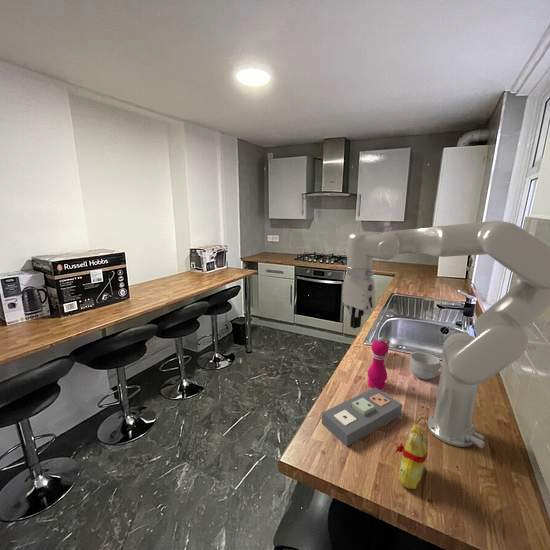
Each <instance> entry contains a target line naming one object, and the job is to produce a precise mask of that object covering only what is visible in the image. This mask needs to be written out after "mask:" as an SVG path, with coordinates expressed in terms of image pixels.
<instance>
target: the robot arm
mask: <svg viewBox="0 0 550 550" xmlns="http://www.w3.org/2000/svg"><path fill="white" fill-rule="evenodd" d="M402 254H403V255H404V254H426V255H429V256H434V257H438V258H439V257H440V258H447V257H449V258H450V257H461V256H480V255H482V256H485V255H488V256H489V257H491V258H492V259H493V260H494V261H496V262H498V263H499V264H500V265H501V266H503V267H504V268H505V269H507V270H509V271H510V272H512V273H513V274H515V279H514V283H513V286H512V287H511V288H510V289H509V291H508V292H506V293H505V295H502V297H501V298H500V299H499V300H497V301H496V302H495V303H494V304H492V305H491V306H490V307H489V308H488V309H486V310H485V311H484V312H482V313H481V314H479V316H478V317H477V318H476V319H475V321H474V326H473V327H474V330H475V332H476V336H475V337H474V336H473V335H470V334H468V333H466V332H456V333H453V334H450V335H449V336H448V337H447V338H446V339H445V341H444V343H443V346H442V352H441V363H442V365H441V367H440V372H441V374H440V375H439V381H438V388H437V396H436V401H435V408H434V414H432V415H431V416H429V418H428V419H427V427H428V429H429V431H430V432H431V434H432V435H433V436H435V437H436V438H437V439H438V440H441V442H444V443H446V444H448V445H450V446H454V447H462V448H463V447H464V448H465V447H466V448H467V447H470V446H472V445H473V444H474V445H476V446H478V447H479V448H480V449H483V448H484V447H485V445H486V441H484V439H485V436H484V435H482V434H480V433H478V432H476V430H475V426H476V425H475V424H473V423H472V421H473V416H474V415H473V414H474V409H475V404H476V398H477V393H478V389H479V385H480V384H482V383H485V382H486V381H489V380H490V379H491V378H492V377H494V376H496V375H497V374H499V373H500V372H502V371H503V370H504V369H507V367H509V366H510V365H512V364H513V363H515V362H516V361H517V360H519V359H520V358H521V357H522V356H523V355H524V353H525V352H526V351H527V348H528V345H529V337H528V334H527V332H526V331H525V329H526V328H527V327H528V326H529V325H530V324H532V323H533V322H534V321H535V320H537V319H538V318H539V317H540V316H542V315H543V314H544V313H545V312H546V311H547V309H549V307H550V246H549V245H548V244H546V243H545V242H543V241H541V239H538V238H537V237H536V236H534V235H532V234H531V233H529V232H528V231H526V230H525V229H523V228H522V227H521V226H519V225H517V224H515V223H513V222H510V221H508V222H507V221H503V220H490V221H489V220H488V221H478V222H469V223H461V224H459V223H458V224H448V225H438V226H430V227H423V228H411V229H398V230H391V231H390V230H389V231H385V232H383V233H381V234H372V233H370V232H353V233H350V234H349V236H348V242H347V258H346V259H347V260H346V261H347V262H346V274H345V276H344V279H343V283H342V291H341V301H342V303H343V304H342V305H343V306H344V307H345V308H346V309H348V314H349V315H350V322H349V323H350V326H349V327H350V328H352V329H357V328H360V327H361V325H362V317H363V316H364V315H371V314H372V309H374V307H375V302H376V298H375V297H376V295H375V294H376V288H375V281H374V278H373V277H374V276H375V275H374V274H375V272H374V271H373V259H378V260H383V261H390V260H393V259H395V257H397V256H398V255H402Z"/></svg>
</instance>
